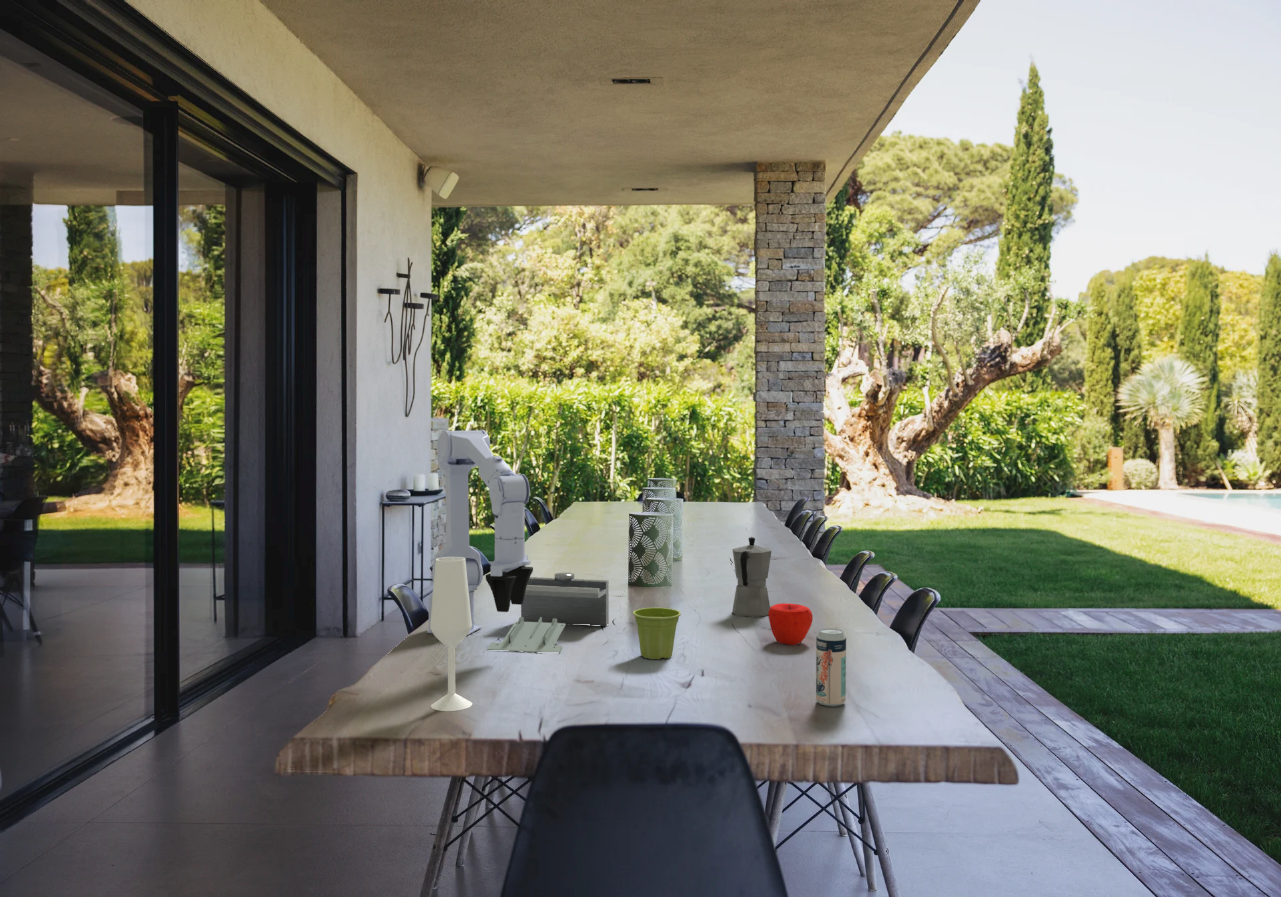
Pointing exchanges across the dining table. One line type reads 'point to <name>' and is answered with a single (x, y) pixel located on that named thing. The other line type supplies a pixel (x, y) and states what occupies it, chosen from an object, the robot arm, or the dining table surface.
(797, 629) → the apple
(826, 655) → the beer can
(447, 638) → the champagne flute
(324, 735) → the dining table surface
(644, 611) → the plant pot
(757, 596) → the coffeepot
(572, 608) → the stand
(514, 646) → the metal bracket
